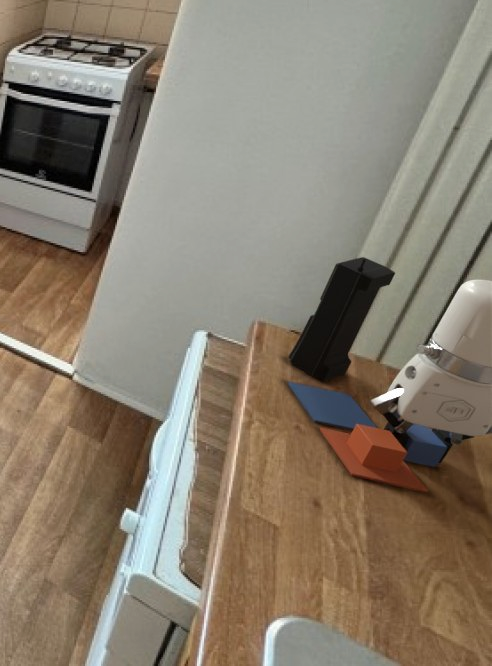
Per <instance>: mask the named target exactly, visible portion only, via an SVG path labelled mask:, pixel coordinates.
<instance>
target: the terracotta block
mask: <svg viewBox="0 0 492 666" xmlns="http://www.w3.org/2000/svg"><path fill="white" fill-rule="evenodd" d="M383 429H384V428H377V427H376V428H374V427H369V426H365V425H360V424H356V426H355V428H354V430H351V433H350V434H351V435H350V437H349V439H348V441H347V445H348V446H349V448H350V449H351V450H352V452H353V453H354V454H355V456H356V457H357V459H358V460H359V461H360V463H361V464H362V465H365V466H369V467H373V468H378V469H382V470H386V471H391V472H395V473H396V472H397V470H398V469H399V467H400V465H401V463H402V462H403V460H404V458H405V456H406V455H407V451H406V450H405V449H404V448H403V446H402V445H401V444H400V443H399V442H398V440H397V439H396V438H395V437H394V435H393V434H392V433H391V432H390V431H388V430H383Z"/></svg>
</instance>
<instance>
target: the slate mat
mask: <svg viewBox="0 0 492 666" xmlns="http://www.w3.org/2000/svg"><path fill="white" fill-rule="evenodd" d="M287 385H288V387H289V388H290V390H291V391H292V392H293V394H294V396H295V397H296V398H297V399H298V401H299V402H300V404H301V405H302V407H303V408H304V410H305V411H306V412H307V414H308V415H309V417H310V418H311V420H312V421H313V422H314V423H317V424H322V425H326V426H332V427H336V428H340V429H345V430H350V431H353V430H354V428H355V426H356V424H360V425H365V426H369V427H374V428H377V426H376V425H375V424H374V423H373V421H372V420H371V419H370V417H369V416H368V415H367V414H366V413H365V412H364V410H363V409H362V408H361V406H360V405H359V404H358V402H357V401H355V399H354V398H353V396H352V395H351V394H350V393H345V392H340V391H334V390H331V389H326V388H320V387H314V386H310V385H305V384H300V383H295V382H291V381H290V382H289V381H287Z"/></svg>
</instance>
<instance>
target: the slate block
mask: <svg viewBox="0 0 492 666" xmlns="http://www.w3.org/2000/svg"><path fill="white" fill-rule="evenodd" d="M398 420H399V419H398ZM400 420H401V419H400ZM400 420H399V421H400ZM405 433H406V434H407V435H408V438H407V439H406V441H405V443H404V444H403V448H404V449H405V450H406V451H407V455H406V456H405V458H404V460H403V461H404V462H408V463H413V464H419V465H422V466H423V465H424V466H427V467H433V468H436V467H437V466H438V464H439V463H438V462H439V461H440V459H441V457H442V456H443V454H444V452H445V451H446V449H447V448H448V447H447V446H446V445H445V444H444V443H443V442H442V441H441V440H440V439H439V438H438V437H437V436H436V435H435V434H434V432H433V431H432V428H430V427H425V426H421V425H417V424H414V425H412V426H411V427H410V428H409V429H408V430H407V431H406V432H405Z"/></svg>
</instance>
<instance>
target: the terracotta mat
mask: <svg viewBox="0 0 492 666" xmlns="http://www.w3.org/2000/svg"><path fill="white" fill-rule="evenodd" d="M319 431H320V432H321V434H322V435H323V437H324V438H325V440H326V441H327V443H328V444H329V445H330V447H331V448H332V449H333V451H334V452H335V454H336V455H337V456H338V458H339V460H340V461H341V462H342V464H343V465H344V466H345V468H346V470H347V471H348V473H349V474H350V475H351V476H353V477H357V478H361V479H365V480H370V481H374V482H378V483H382V484H387V485H391V486H396V487H398V488H399V487H401V488H404V489H409V490H413V491H418V492H422V493H426V494H427V493H428V492H429V490H428V489H427V488H426V486H425V485H424V484H423V483H422V482H421V481H420V480H419V478H418V477H417V475H416V474H415V473H414V472H413V471H412V469H411V468H410V467H409V466H408V464H407V463H406V461H403V462H402V463H401V465H400V467H399V469H398V470H397V472H396V473H395V472H391V471H386V470H382V469H378V468H373V467H369V466H365V465H362V464H361V463H360V461H359V460H358V459H357V457H356V456H355V454H354V453H353V452H352V450H351V449H350V448H349V446H348V445H347V441H348V439H349V437H350V435H351V433H348V432H344V431H339V430H334V429H330V428H325V427H319Z"/></svg>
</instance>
